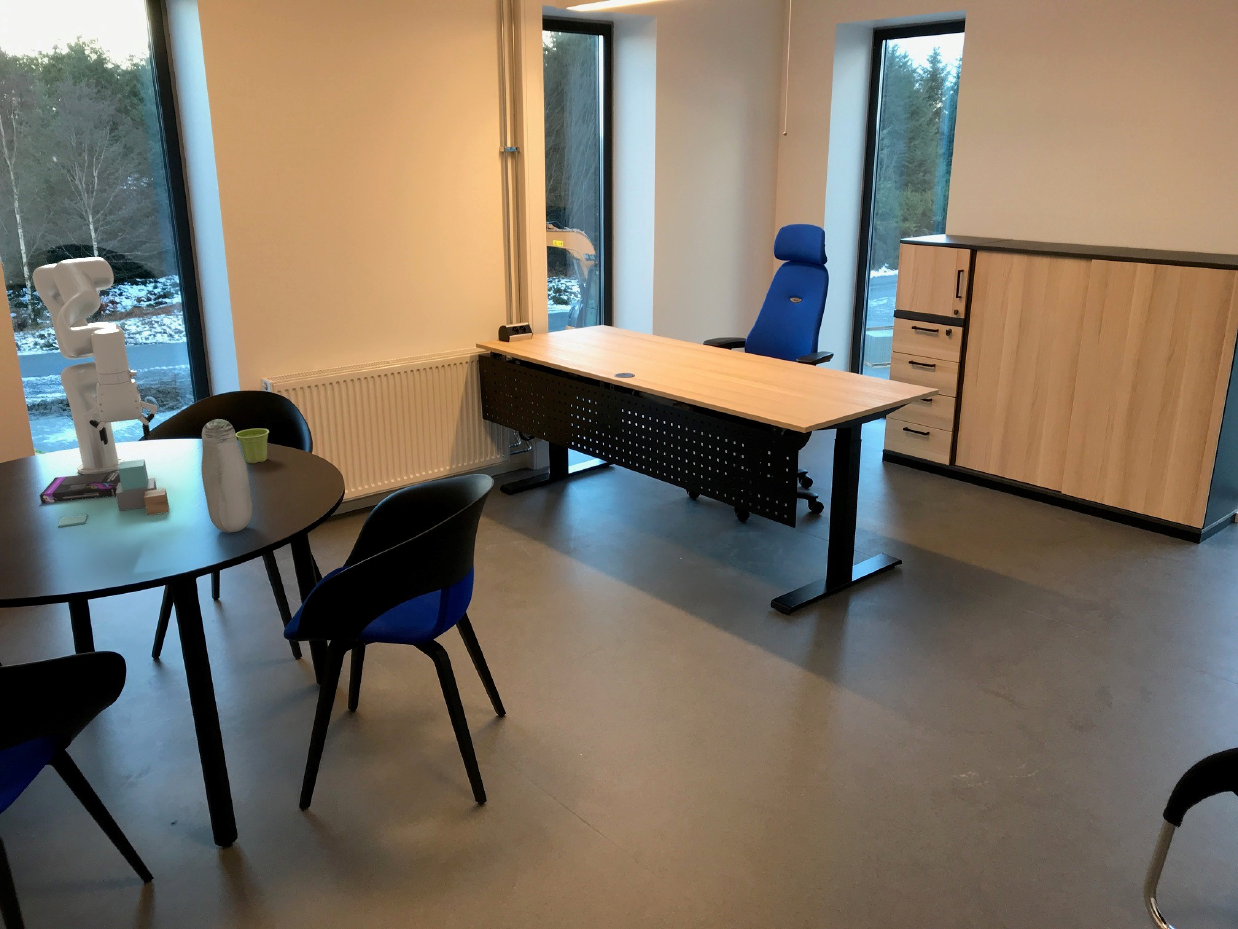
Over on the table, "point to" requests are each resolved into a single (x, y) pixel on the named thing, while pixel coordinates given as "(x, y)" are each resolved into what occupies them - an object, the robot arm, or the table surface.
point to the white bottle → (225, 477)
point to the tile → (73, 520)
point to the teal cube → (133, 474)
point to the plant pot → (253, 444)
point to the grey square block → (133, 496)
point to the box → (81, 487)
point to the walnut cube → (156, 501)
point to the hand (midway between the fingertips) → (126, 440)
